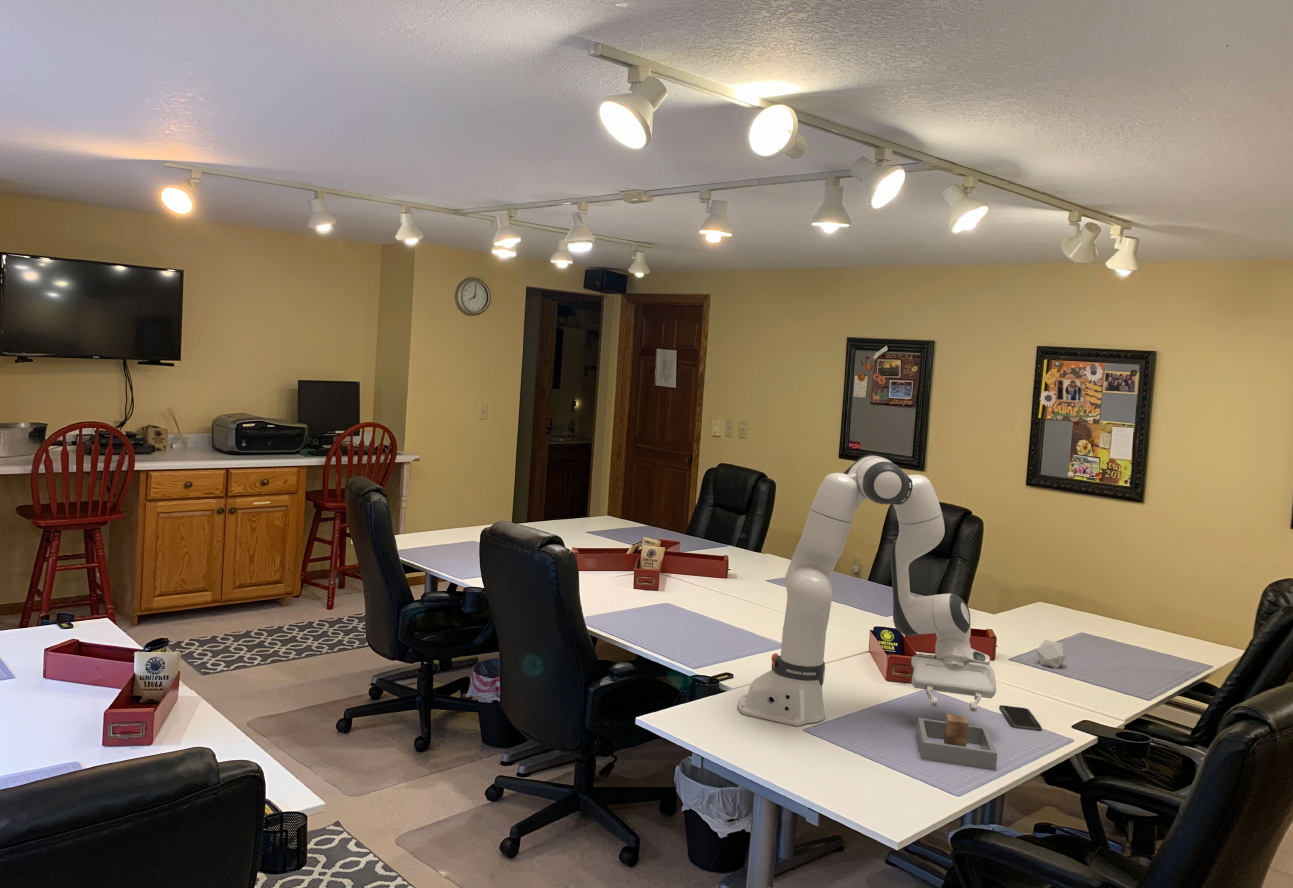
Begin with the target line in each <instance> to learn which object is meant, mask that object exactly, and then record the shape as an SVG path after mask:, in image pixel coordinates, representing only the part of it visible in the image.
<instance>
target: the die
mask: <svg viewBox="0 0 1293 888" xmlns="http://www.w3.org/2000/svg"><path fill="white" fill-rule="evenodd" d="M1036 655H1037V657H1038V661H1039V664H1040V665H1041V666H1045V667H1049V666H1050V668H1054V669H1058V668H1059V667H1060V666H1061V665H1062V664H1063V663H1064V661H1066V660H1067V656H1066V653H1065V649H1064V645H1063V643H1062V642H1056V641H1054V640H1053V641H1052V640H1049V639H1048V640H1047V639H1045V640H1044V641H1043V642H1042V643H1041V644H1039V646H1038V647H1037V648H1036Z"/></svg>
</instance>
